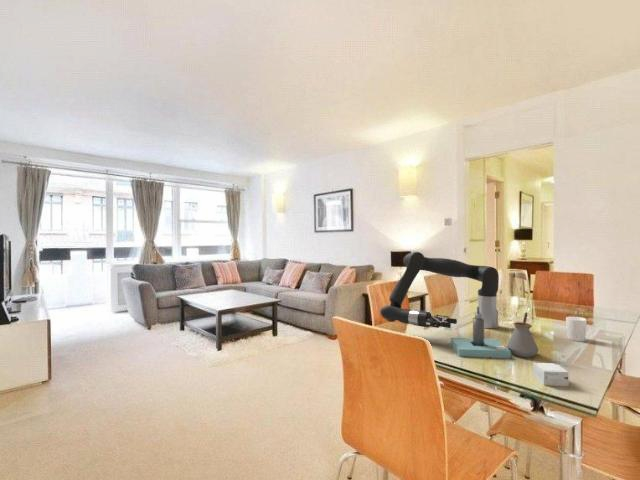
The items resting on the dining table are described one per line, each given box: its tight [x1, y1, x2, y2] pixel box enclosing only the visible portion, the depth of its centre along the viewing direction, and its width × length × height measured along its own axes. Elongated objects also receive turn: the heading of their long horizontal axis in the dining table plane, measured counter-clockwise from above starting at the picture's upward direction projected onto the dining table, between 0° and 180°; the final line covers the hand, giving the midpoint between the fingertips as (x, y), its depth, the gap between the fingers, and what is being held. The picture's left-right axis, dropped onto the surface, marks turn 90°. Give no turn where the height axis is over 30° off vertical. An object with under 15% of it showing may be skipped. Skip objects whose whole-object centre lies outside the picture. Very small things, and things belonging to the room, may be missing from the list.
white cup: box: [565, 316, 588, 342], centre depth 160 cm, size 8×8×10 cm
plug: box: [472, 306, 485, 346], centre depth 147 cm, size 4×4×19 cm
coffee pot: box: [506, 312, 539, 358], centre depth 146 cm, size 21×12×15 cm, turn 142°
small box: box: [532, 362, 569, 387], centre depth 116 cm, size 8×8×5 cm
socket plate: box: [450, 337, 512, 359], centre depth 147 cm, size 20×16×4 cm
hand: (453, 323), depth 154 cm, fingers open, 8 cm apart
